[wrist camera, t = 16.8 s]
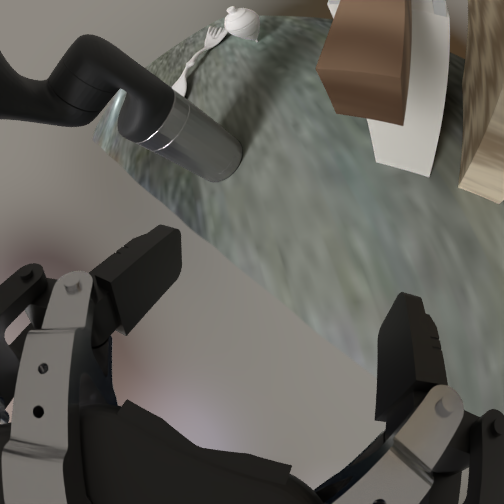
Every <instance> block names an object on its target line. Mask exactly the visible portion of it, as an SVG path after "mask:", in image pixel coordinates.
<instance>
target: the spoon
mask: <svg viewBox="0 0 504 504" xmlns="http://www.w3.org/2000/svg"><path fill="white" fill-rule="evenodd" d="M214 30H215V31H214ZM217 31H218V27H217V28H216V29H215V27H213V29H212V26H210V27H209V29H208V32H207V36H206V39H205V47H204V48H203V49H201V50H200V51H198V52H197V53H196V54H195V55H194V56H193V57H192V59H191V60H190V61H189V62H187V63H186V67H185V69H184V71H183V73H182V75H181V76H180V78H179V79H178V80H177V81H176V83H175V84H174V85H173V86H172V87H171V88H172V89H174V90H175V91H176V92H178V93H179V94H180V95H182V96H183V97H185V94H186V90H187V81H186V75H187V72H188V70H189V68H190V67H191V66H193V65H194V64H195V60H196V59H197V58H198V56H199V55H200V54H202V53H203V52H205V51H207V50H209V49H211V48H213V47H215V46H216V45H217V44H219V43H220V42H221V41H222V39H223V38H224V37H225V36H226V34H227V33H228V31H227V30H226V29H225V27H224V28H223V30H222V27H221V28H220V29H219V31H218V32H217Z"/></svg>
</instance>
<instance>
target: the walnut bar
mask: <svg viewBox="0 0 504 504" xmlns="http://www.w3.org/2000/svg"><path fill="white" fill-rule="evenodd" d="M411 46H412V5H411V0H340V3H339V5H338V8H337V11H336V14H335V16H334V19H333V22H332V25H331V27H330V30H329V33H328V36H327V38H326V41H325V44H324V47H323V49H322V52H321V55H320V58H319V60H318V63H317V66H316V71H317V73H318V75H319V77H320V79H321V81H322V83H323V85H324V87H325V89H326V91H327V94H328V96H329V98H330V100H331V102H332V105H333V107H334V109H335V112H336V114H343V115H349V116H355V117H361V118H367V119H372V120H377V121H382V122H387V123H391V124H396V125H400V126H403V125H404V119H405V112H406V105H407V97H408V88H409V78H410V65H411Z"/></svg>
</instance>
